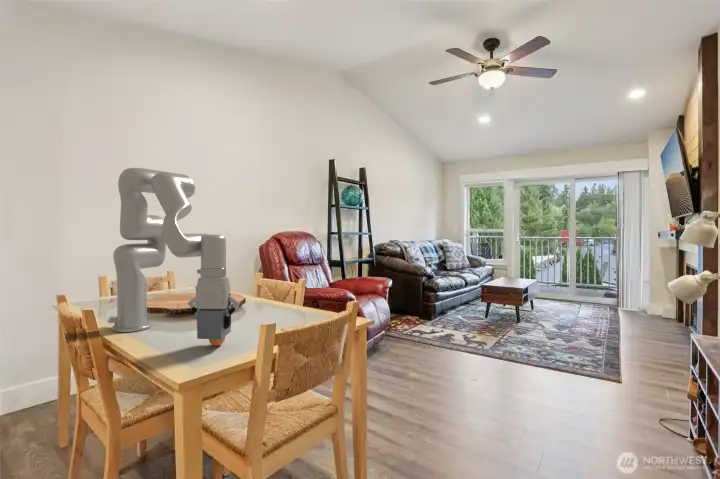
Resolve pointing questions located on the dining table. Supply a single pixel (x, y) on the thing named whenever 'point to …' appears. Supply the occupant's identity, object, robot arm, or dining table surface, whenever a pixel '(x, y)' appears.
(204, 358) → the dining table surface
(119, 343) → the dining table surface
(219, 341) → the ball
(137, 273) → the robot arm
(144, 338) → the dining table surface
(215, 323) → the grey matte cube
